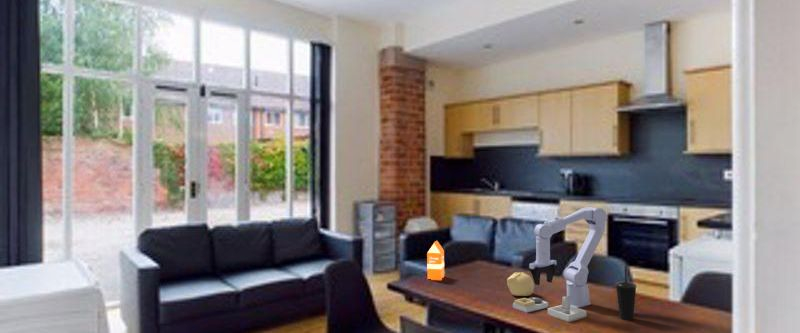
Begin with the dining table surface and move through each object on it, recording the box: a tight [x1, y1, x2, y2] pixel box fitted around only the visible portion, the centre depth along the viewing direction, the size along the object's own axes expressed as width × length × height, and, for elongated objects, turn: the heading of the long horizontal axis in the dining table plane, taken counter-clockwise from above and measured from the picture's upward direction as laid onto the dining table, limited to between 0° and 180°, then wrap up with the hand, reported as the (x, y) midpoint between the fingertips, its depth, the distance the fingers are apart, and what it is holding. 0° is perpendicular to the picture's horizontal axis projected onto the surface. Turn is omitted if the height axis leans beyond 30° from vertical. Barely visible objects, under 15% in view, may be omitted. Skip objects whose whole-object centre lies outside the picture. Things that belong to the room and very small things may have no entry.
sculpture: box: [506, 271, 535, 297], centre depth 222 cm, size 12×12×11 cm
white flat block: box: [512, 296, 549, 313], centre depth 203 cm, size 13×8×4 cm, turn 120°
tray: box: [547, 304, 587, 323], centre depth 191 cm, size 11×11×3 cm
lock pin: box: [561, 295, 570, 315], centre depth 191 cm, size 3×3×7 cm
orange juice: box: [426, 240, 445, 281], centre depth 257 cm, size 8×9×20 cm
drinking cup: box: [614, 267, 637, 321], centre depth 187 cm, size 8×8×20 cm
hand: (543, 283), depth 203 cm, fingers open, 7 cm apart
